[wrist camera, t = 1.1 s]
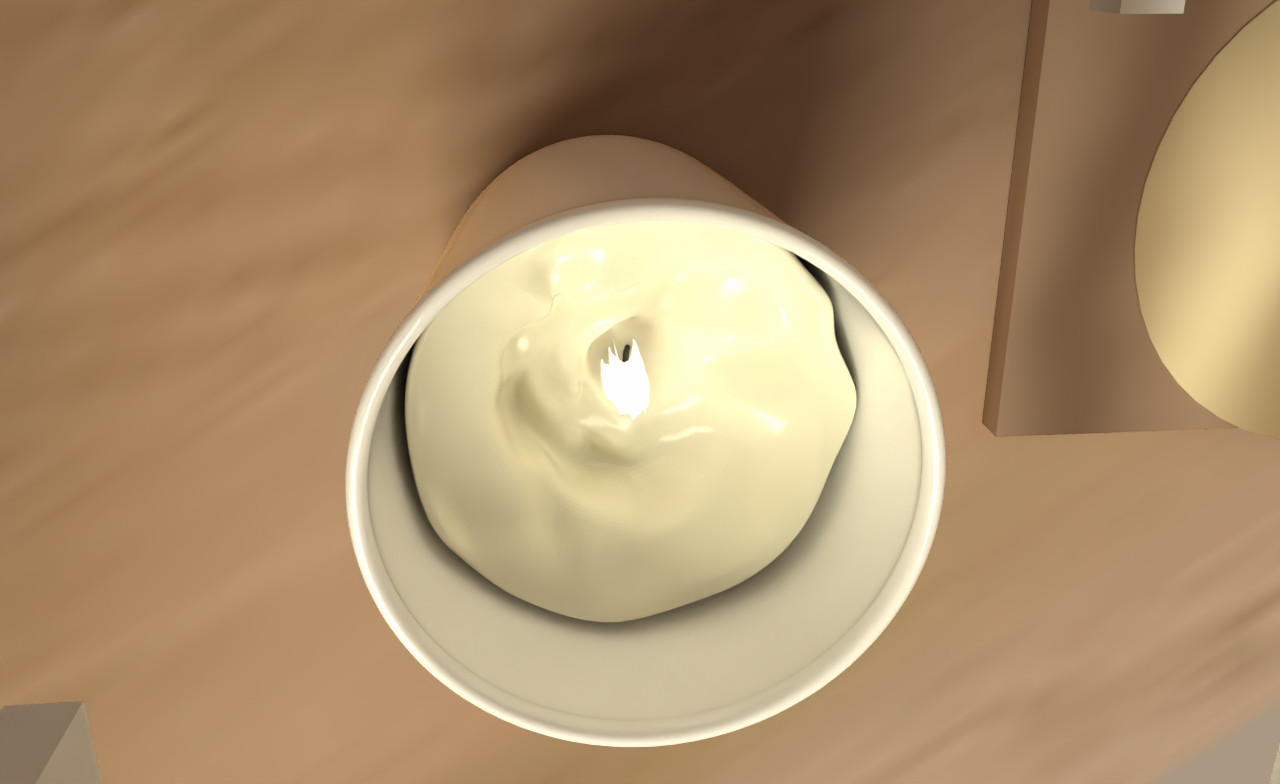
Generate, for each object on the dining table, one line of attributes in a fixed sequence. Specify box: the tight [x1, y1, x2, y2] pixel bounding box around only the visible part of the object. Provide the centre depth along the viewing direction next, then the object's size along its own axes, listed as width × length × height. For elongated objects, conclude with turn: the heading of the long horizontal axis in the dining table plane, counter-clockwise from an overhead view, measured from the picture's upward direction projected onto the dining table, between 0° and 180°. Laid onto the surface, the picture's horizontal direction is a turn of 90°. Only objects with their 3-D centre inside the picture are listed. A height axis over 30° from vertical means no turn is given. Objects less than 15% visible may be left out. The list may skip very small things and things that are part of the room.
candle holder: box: [345, 135, 946, 747], centre depth 24 cm, size 10×10×12 cm
